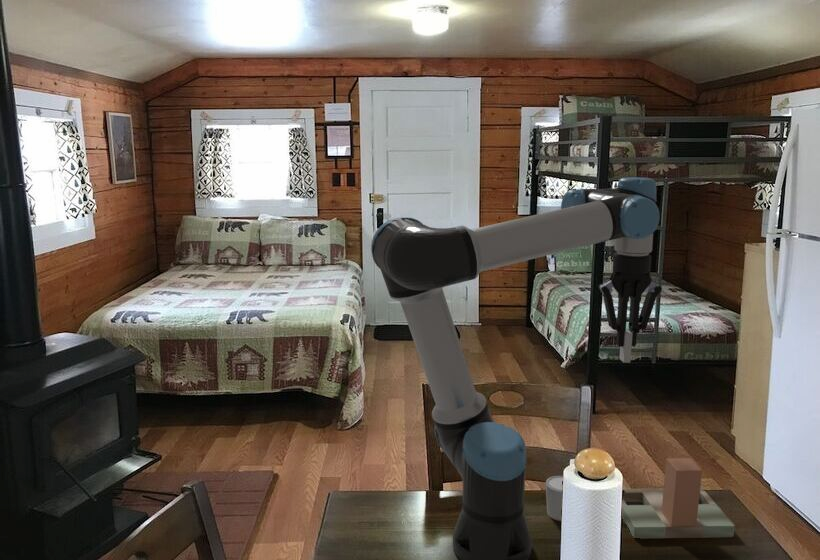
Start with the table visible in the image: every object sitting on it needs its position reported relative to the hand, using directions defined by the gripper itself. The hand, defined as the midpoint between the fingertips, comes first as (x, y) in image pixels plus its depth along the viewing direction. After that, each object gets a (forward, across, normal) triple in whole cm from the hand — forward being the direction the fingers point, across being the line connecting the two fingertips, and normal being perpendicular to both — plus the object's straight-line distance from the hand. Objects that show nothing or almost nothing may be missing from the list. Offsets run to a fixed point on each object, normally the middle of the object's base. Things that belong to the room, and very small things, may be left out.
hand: (624, 360), depth 146 cm
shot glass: (+31, +15, +10) cm, 35 cm away
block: (+28, -7, +16) cm, 33 cm away
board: (+30, -7, +12) cm, 33 cm away
